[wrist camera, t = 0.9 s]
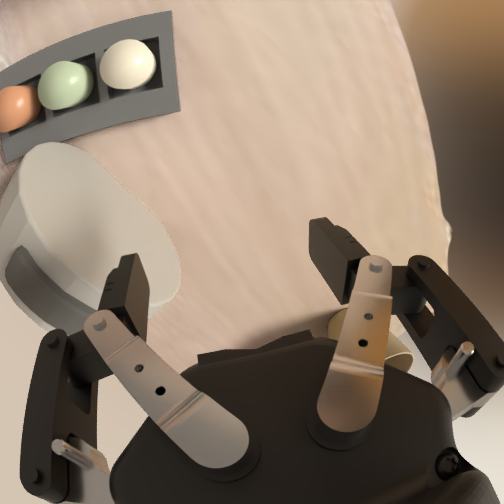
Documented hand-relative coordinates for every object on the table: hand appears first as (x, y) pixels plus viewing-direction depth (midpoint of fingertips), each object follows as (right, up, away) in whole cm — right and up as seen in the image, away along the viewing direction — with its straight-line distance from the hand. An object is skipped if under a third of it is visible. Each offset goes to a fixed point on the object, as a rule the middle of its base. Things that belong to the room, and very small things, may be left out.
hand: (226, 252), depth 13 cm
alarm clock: (-18, +6, +20) cm, 27 cm away
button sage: (-18, +18, +9) cm, 27 cm away
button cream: (-11, +19, +10) cm, 24 cm away
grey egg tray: (-19, +19, +11) cm, 29 cm away
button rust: (-25, +17, +8) cm, 31 cm away
